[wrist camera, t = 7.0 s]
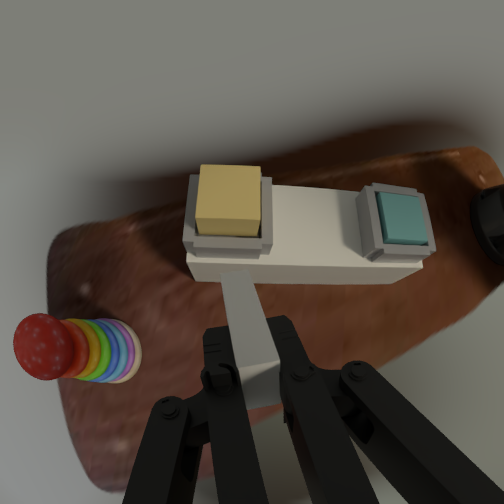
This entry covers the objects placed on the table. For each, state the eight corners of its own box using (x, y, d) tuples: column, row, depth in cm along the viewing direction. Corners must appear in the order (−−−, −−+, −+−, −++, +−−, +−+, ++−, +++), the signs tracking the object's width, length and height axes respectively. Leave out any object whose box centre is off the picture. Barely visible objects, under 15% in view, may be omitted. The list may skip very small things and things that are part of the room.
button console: (382, 223, 40) (421, 186, 30) (390, 283, 37) (437, 259, 27) (200, 214, 39) (191, 166, 28) (195, 281, 36) (181, 252, 25)
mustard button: (257, 187, 29) (260, 166, 25) (256, 236, 27) (260, 219, 24) (203, 185, 28) (201, 164, 25) (199, 234, 27) (195, 217, 23)
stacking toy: (101, 390, 30) (5, 409, 13) (79, 332, 32) (-21, 307, 15) (153, 370, 32) (79, 385, 14) (129, 310, 34) (45, 269, 16)
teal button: (404, 210, 32) (418, 197, 29) (411, 251, 30) (428, 240, 27) (367, 206, 32) (379, 191, 28) (373, 250, 30) (388, 238, 27)
